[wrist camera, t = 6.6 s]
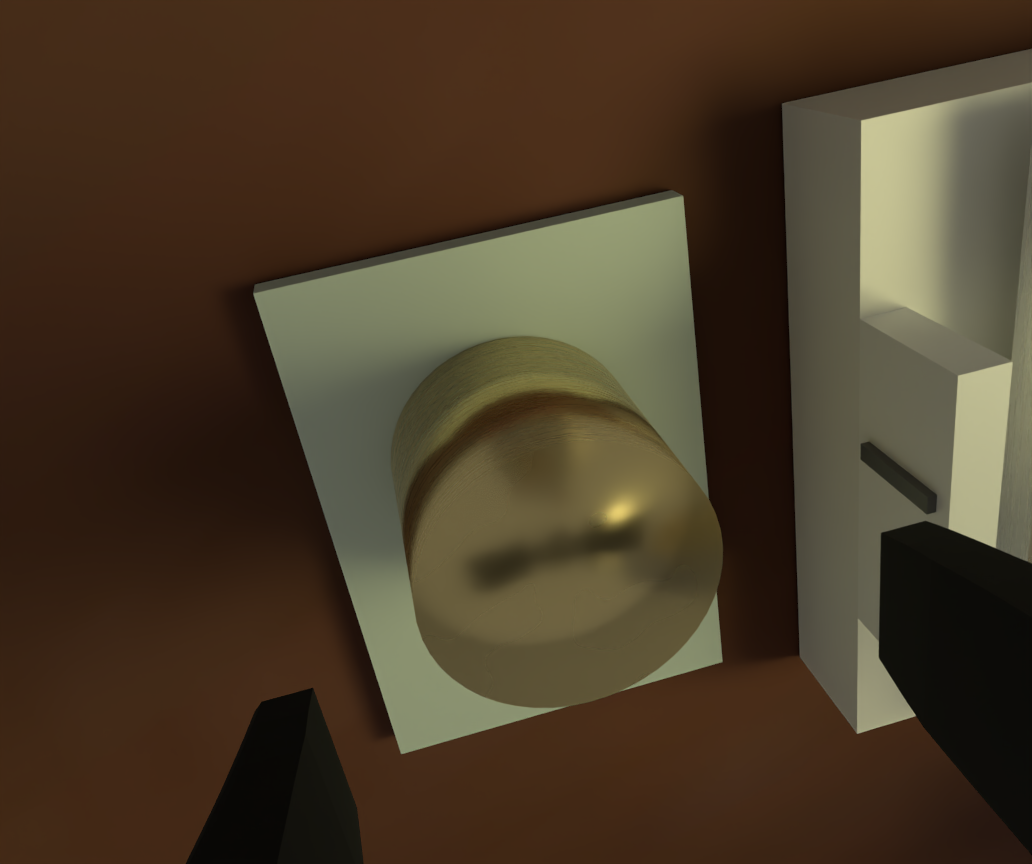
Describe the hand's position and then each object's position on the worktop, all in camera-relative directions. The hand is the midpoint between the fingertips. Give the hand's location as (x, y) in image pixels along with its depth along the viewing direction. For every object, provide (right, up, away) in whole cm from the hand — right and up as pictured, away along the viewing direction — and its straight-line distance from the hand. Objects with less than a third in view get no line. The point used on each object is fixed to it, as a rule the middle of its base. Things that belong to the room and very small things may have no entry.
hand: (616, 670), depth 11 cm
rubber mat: (-1, +2, +6) cm, 6 cm away
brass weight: (-1, +3, +5) cm, 6 cm away
